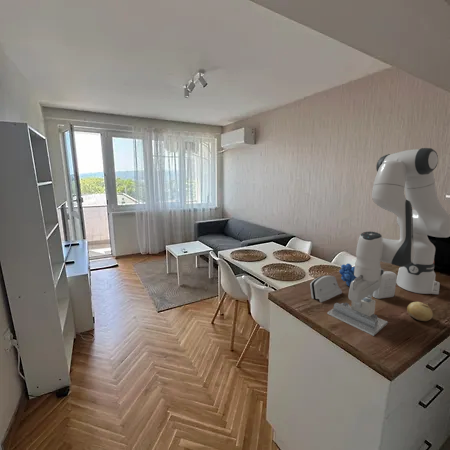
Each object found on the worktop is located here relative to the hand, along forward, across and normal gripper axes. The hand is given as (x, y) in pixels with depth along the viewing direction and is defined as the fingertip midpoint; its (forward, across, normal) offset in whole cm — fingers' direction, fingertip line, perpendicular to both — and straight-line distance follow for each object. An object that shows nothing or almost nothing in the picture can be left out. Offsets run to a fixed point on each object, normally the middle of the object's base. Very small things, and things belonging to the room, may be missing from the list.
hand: (363, 304), depth 100 cm
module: (+4, 0, 0) cm, 4 cm away
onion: (+5, +15, -15) cm, 22 cm away
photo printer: (+5, +23, +1) cm, 24 cm away
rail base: (+5, -5, 0) cm, 7 cm away
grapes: (+5, +20, +16) cm, 26 cm away
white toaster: (+5, +3, +19) cm, 20 cm away
